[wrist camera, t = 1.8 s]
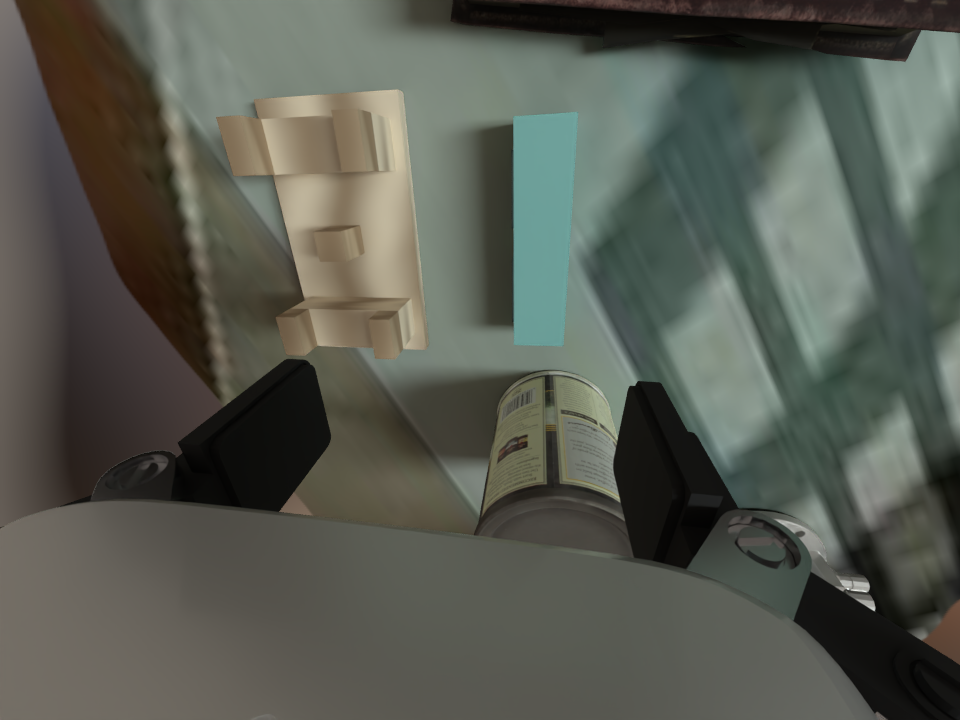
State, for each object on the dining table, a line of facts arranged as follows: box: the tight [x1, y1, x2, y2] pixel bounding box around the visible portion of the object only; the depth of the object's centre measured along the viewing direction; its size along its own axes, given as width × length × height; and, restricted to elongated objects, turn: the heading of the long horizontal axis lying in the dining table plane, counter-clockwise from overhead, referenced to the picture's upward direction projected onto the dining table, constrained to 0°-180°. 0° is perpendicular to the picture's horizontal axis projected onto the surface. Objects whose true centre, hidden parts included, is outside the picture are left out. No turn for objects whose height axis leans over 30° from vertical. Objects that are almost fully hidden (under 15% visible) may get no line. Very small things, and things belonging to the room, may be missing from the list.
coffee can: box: [474, 371, 634, 558], centre depth 28 cm, size 10×10×14 cm
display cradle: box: [216, 90, 429, 359], centre depth 26 cm, size 10×18×6 cm, turn 2°
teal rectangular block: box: [512, 112, 578, 346], centre depth 25 cm, size 4×14×4 cm, turn 3°
